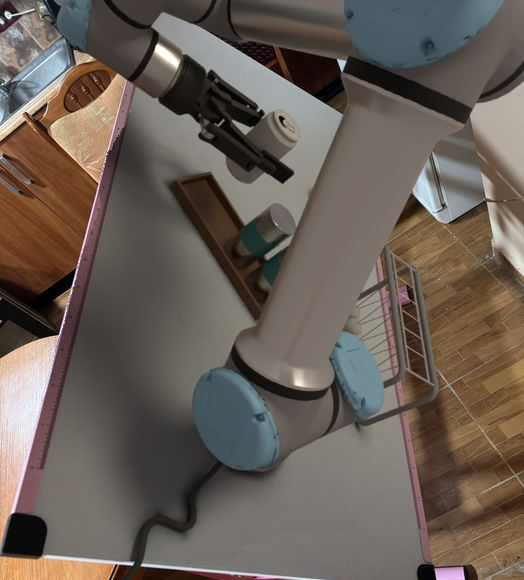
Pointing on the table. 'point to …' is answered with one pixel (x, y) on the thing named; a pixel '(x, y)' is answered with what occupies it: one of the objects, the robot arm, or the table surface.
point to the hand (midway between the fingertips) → (287, 162)
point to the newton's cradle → (399, 333)
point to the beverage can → (268, 142)
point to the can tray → (216, 227)
